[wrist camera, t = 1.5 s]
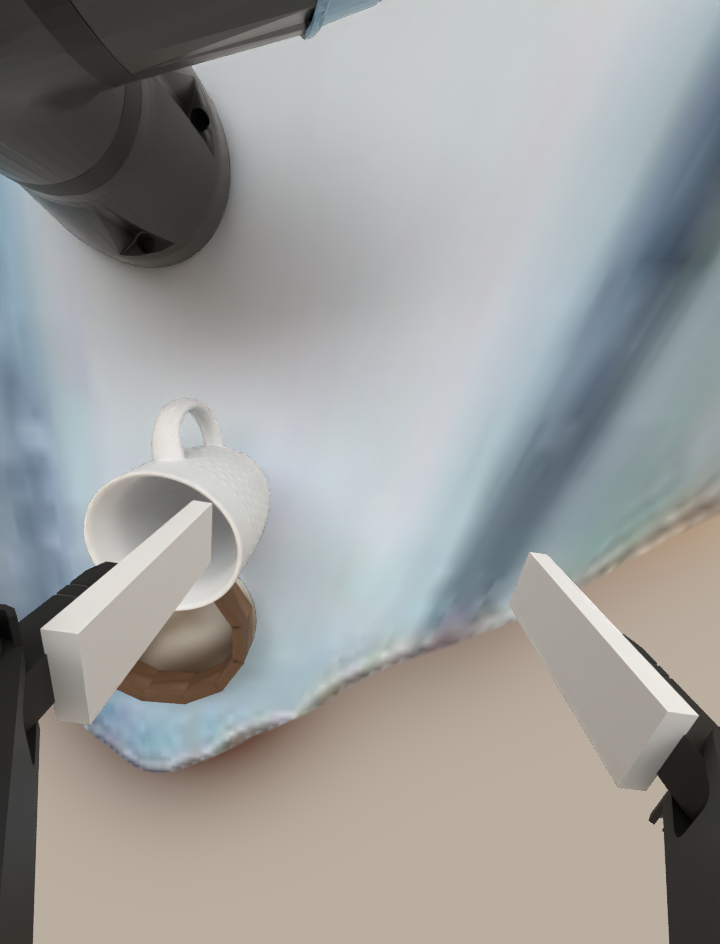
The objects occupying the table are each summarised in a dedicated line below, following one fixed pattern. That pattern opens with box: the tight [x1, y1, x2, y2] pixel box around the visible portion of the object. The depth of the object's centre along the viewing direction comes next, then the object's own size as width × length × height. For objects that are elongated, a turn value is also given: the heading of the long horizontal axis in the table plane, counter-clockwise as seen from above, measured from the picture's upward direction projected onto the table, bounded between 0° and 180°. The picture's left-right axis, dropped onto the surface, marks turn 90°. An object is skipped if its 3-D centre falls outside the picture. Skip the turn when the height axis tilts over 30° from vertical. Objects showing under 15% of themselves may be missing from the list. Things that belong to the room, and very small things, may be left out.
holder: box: [117, 577, 256, 704], centre depth 39 cm, size 20×20×4 cm
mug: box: [84, 399, 270, 611], centre depth 29 cm, size 15×11×13 cm
